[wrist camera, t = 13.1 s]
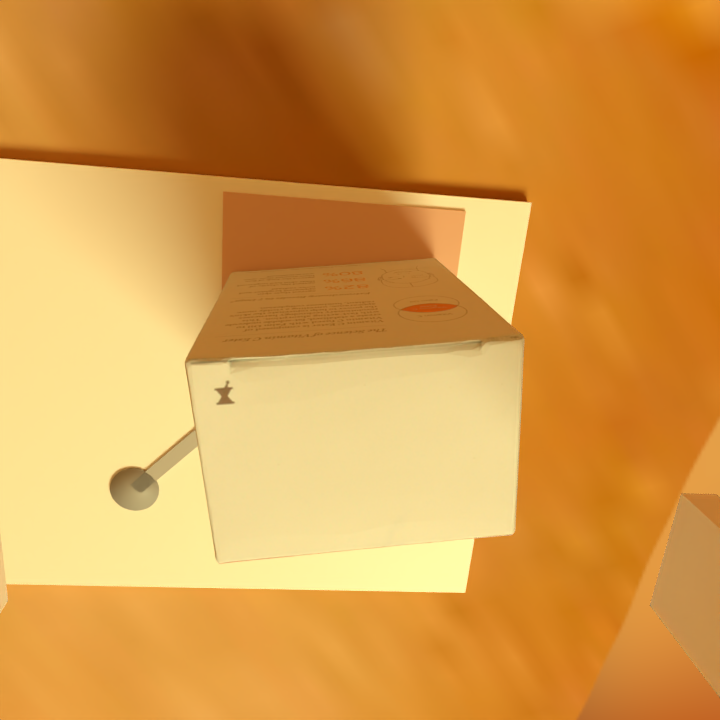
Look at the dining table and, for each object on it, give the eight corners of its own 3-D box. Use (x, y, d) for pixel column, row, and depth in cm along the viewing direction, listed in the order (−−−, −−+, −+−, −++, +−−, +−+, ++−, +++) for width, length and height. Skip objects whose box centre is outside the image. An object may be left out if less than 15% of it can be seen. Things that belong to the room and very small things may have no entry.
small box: (245, 403, 26) (206, 571, 16) (229, 267, 24) (173, 360, 14) (440, 389, 26) (520, 543, 16) (439, 254, 24) (530, 336, 14)
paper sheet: (-22, 577, 28) (-28, 584, 28) (-80, 151, 22) (-88, 151, 22) (463, 586, 30) (465, 594, 30) (527, 201, 24) (532, 203, 24)
